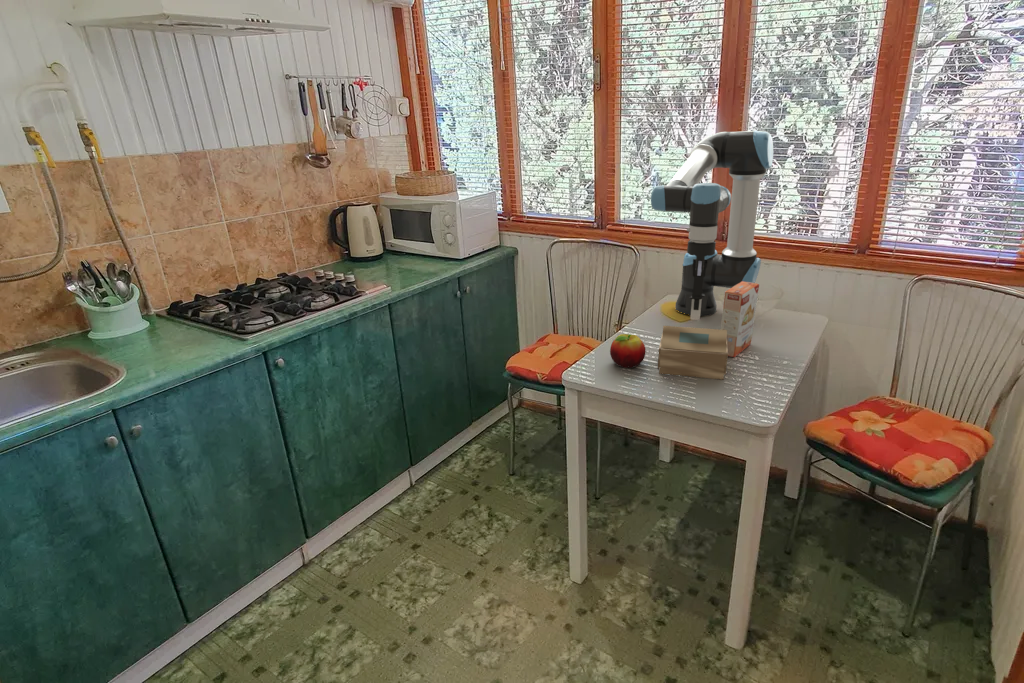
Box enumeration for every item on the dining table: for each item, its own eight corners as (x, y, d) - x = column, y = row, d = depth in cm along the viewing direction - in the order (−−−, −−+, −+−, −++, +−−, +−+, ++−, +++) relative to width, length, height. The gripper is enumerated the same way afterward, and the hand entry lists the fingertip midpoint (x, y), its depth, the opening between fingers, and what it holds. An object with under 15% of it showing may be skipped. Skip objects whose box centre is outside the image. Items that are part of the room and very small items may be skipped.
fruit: (652, 366, 174) (654, 335, 170) (624, 374, 169) (626, 343, 165) (629, 354, 182) (630, 325, 179) (602, 362, 178) (603, 332, 174)
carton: (661, 354, 181) (662, 331, 178) (724, 359, 175) (726, 335, 172) (657, 373, 168) (658, 349, 165) (725, 380, 163) (728, 354, 160)
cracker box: (735, 358, 176) (743, 294, 168) (716, 354, 180) (723, 291, 172) (752, 344, 186) (760, 283, 178) (734, 340, 189) (741, 280, 182)
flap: (663, 326, 167) (663, 325, 167) (726, 330, 162) (727, 329, 161) (661, 348, 165) (661, 347, 165) (725, 353, 160) (725, 352, 159)
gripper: (688, 235, 167) (682, 311, 176) (687, 244, 155) (681, 325, 164) (715, 236, 165) (708, 312, 173) (716, 245, 153) (708, 327, 162)
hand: (695, 318), depth 169 cm, fingers closed
